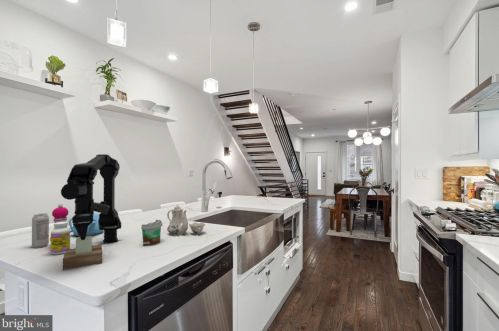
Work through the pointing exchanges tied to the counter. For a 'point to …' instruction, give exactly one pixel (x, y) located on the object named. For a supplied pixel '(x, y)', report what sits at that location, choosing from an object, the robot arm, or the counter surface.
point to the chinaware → (181, 223)
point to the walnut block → (82, 258)
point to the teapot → (92, 228)
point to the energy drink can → (40, 230)
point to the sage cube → (83, 245)
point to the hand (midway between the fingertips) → (83, 237)
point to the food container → (151, 233)
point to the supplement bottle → (60, 238)
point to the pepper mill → (60, 214)
